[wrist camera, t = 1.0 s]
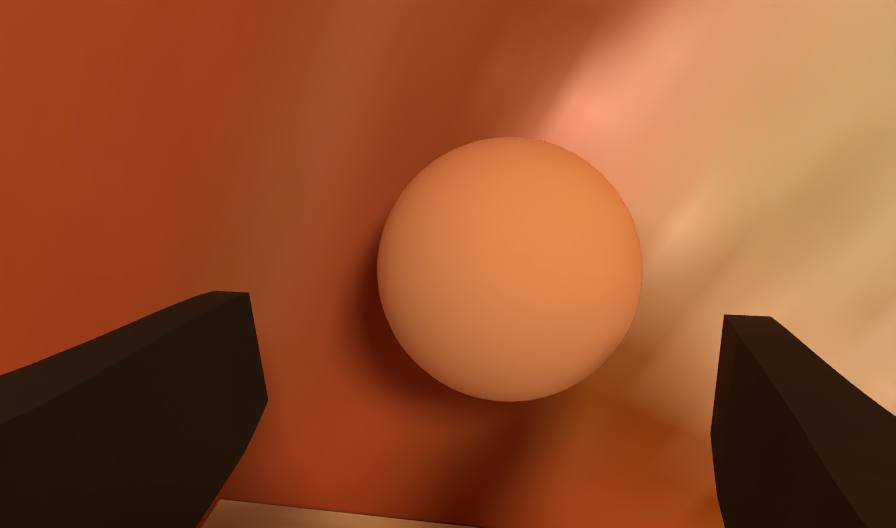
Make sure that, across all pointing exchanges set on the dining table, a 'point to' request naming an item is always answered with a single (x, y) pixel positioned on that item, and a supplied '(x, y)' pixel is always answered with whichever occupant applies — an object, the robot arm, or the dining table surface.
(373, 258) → the dining table surface
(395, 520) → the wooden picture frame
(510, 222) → the ball
